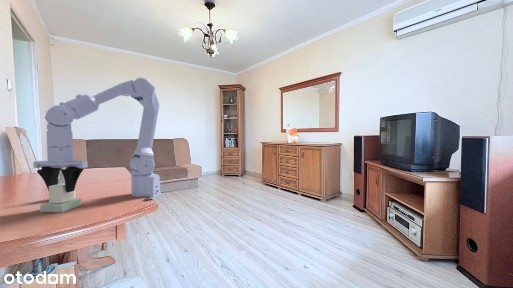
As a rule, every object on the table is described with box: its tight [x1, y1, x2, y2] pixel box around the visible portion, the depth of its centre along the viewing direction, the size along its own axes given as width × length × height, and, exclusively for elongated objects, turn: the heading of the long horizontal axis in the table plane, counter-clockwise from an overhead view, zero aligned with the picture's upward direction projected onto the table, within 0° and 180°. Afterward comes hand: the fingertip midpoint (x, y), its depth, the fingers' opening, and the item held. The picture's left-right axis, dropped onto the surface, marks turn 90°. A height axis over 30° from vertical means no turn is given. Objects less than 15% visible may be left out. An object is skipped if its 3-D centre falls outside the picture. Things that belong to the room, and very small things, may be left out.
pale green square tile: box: [41, 203, 86, 214], centre depth 65 cm, size 8×8×2 cm
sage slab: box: [39, 197, 83, 213], centre depth 65 cm, size 6×6×2 cm
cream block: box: [48, 184, 74, 203], centre depth 65 cm, size 4×4×5 cm
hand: (61, 191), depth 65 cm, fingers open, 5 cm apart
